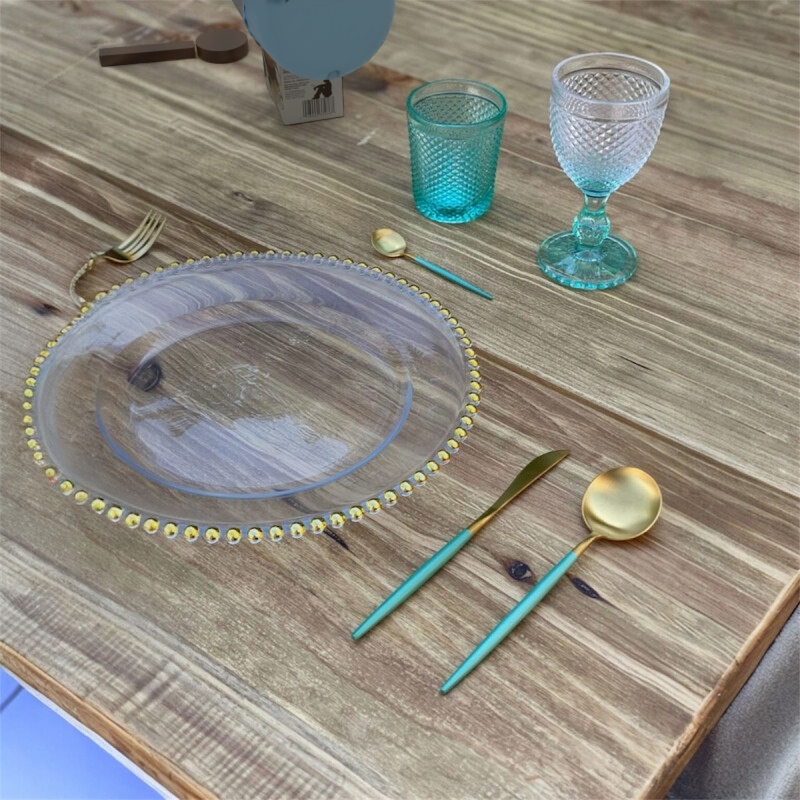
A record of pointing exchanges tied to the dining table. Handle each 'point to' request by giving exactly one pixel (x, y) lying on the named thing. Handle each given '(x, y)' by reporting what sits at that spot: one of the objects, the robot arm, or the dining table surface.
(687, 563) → the dining table surface
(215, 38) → the spoon
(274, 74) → the coffee box
